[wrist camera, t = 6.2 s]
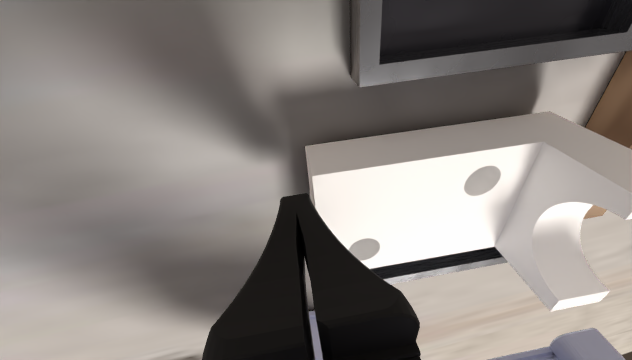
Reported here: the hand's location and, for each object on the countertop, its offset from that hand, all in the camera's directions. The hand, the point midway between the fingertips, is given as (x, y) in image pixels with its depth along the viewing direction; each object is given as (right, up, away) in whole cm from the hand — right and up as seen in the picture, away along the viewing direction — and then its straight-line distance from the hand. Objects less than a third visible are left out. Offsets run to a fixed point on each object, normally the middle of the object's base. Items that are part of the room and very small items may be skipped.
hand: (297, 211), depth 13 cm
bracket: (+7, +2, +4) cm, 8 cm away
